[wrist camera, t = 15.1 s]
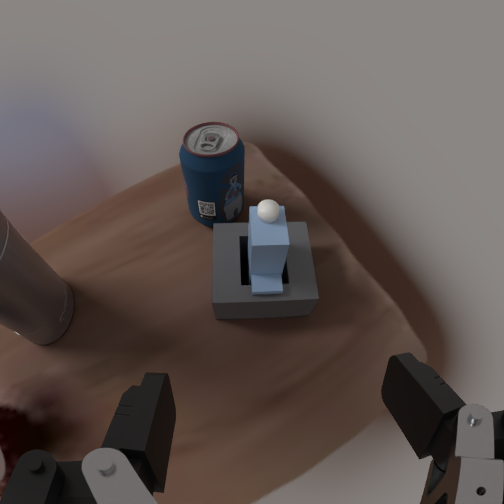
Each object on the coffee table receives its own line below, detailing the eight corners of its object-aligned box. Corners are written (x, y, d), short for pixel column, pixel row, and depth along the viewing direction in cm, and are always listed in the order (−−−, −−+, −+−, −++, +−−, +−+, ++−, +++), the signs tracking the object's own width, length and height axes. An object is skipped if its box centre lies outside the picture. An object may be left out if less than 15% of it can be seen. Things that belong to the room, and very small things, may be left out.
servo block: (277, 311, 32) (294, 257, 22) (249, 312, 32) (253, 259, 22) (271, 251, 36) (282, 183, 26) (246, 252, 36) (248, 183, 26)
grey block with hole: (216, 319, 32) (212, 302, 27) (216, 247, 36) (213, 223, 32) (308, 315, 32) (319, 298, 28) (299, 245, 37) (306, 221, 33)
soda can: (199, 187, 41) (190, 116, 31) (248, 195, 41) (251, 122, 30) (183, 226, 38) (166, 154, 27) (236, 236, 37) (235, 163, 27)
